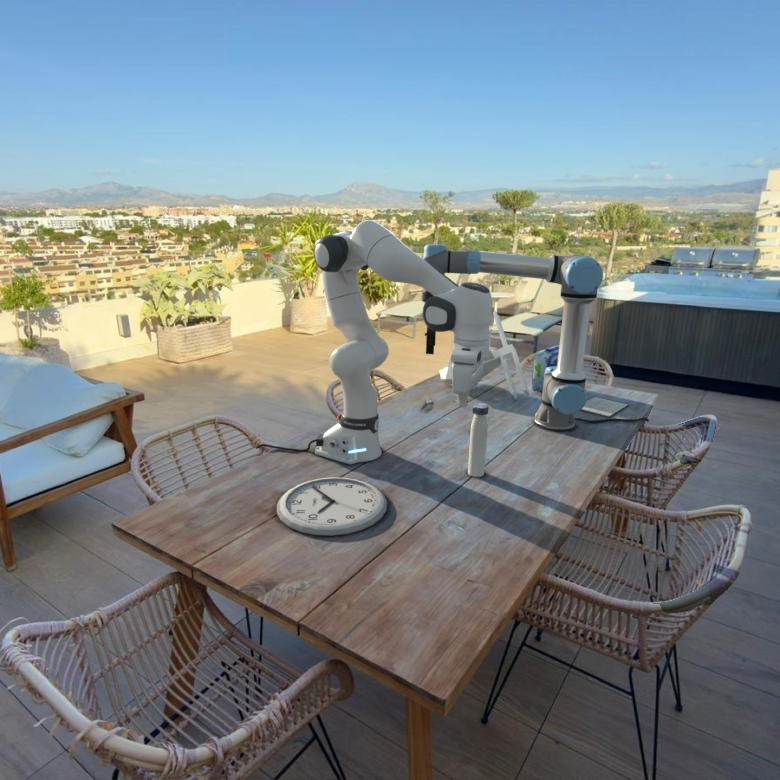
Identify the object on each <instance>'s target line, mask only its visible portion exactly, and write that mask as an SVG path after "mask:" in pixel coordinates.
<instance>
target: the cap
mask: <svg viewBox="0 0 780 780" xmlns="http://www.w3.org/2000/svg"><path fill="white" fill-rule="evenodd" d="M472 413H473V415H475V414H477V415H486V416H487V415H488V414H489V404H486V403H483V402H482V403H480V402H478V403H474V404H473V405H472Z"/></svg>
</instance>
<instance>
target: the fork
mask: <svg viewBox="0 0 780 780" xmlns="http://www.w3.org/2000/svg"><path fill="white" fill-rule="evenodd" d="M434 398H435V396H431V395H429V396H428V397H427V399H426V403H425V404H423V406H422V407H421V409H420V410H421V411H423V410H424V409H425V408H426V407H427V406H428V404H432V403H433V402H434Z"/></svg>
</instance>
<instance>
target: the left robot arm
mask: <svg viewBox="0 0 780 780" xmlns="http://www.w3.org/2000/svg"><path fill="white" fill-rule="evenodd" d="M313 259H314V261H315V263H316V265H317V267H318V268H319V269H320V270H321V271H322V272H321V273H322V284H323V285H322V286H323V291H324V296H325V300H326V303H327V306H328V310H329V314H330V317H331V321H332V324H333V326H334V327H335V328H336V329H338V330H339V331H340V332H341V333H342V335H343V337H344V339H346V342H345V343H342V344H341V345H340V346H338V347H337V348H336V349H334V351H332V353H331V354H330V356H329V367H330V369H331V371H332V372H333V374H334V376H336V377H337V378H338V379H339V382H340V385H341V389H342V396H343V399H342V402H343V410H342V411H341V412H340V413H339V414H338V415H337V416H336V421H338V422H337V423H336V424H334V425H333V426H331V427H330V428H329V429H327V430H326V431H325V432H324V433H318V435H317V436H316V438H315V439H313V440H310V442H309V443H308V445H307V448H303V449H298V448H291V447H290V448H289V447H283V446H278V445H271V444H266V443H261V444H259V445H257V446H256V447H255V449H260V448H262V447H267V448H271V449H278V450H283V451H290V452H307V451H309V450H310V449H311V445H312V444H313V443H315V444H316V447H315V448H314V454H315V455H317V456H320V457H324V458H326V459H329V460H334V461H337V462H340V463H343V464H347V465H354V464H357V463H363V462H364V463H365V462H371V461H374V460H376V459H378V458H380V457H381V456H382V454H383V453H382V452H383V451H382V448H381V445H380V438H379V427H380V419H379V417H380V416H379V412H378V391H377V388H376V387H375V386H374V385H373V383H372V380H371V371H373V370H375V369H377V368H379V367H381V366H382V365H383V364H384V362H385V361H386V360H387V359H388V356H389V353H390V349H389V348H390V347H389V345H388V343H387V342H386V340H385V339H384V338H382V337H381V336H380V335H379V333H378V332H377V330H376V329H375V326H374V325H373V324H372V322H371V319H370V317H369V315H368V311H367V308H366V305H365V301H364V298H363V293H362V290H361V286H360V284H359V280H358V273H359V271H360V270H362V271H367V270H368V269H369V268H370V270H371V271H372V272H374V274H375V275H377V276H378V277H380V278H381V279H383V280H385V281H387V282H391V283H401V284H408V285H414V286H417V287H421V288H422V289H423V288H424V289H426V290H427V291H429V292H430V293H431V294H432V295H433V296H432V297H430V298H428V299H427V301H426V302H424V304H423V307H422V319H423V322H424V324H425V325H426V328H427V327H428V328H429V329H431V330H432V331H436V333H444V332H445V333H446V332H452V333H453V344H452V348H453V350H452V349H451V352H452V353H450V357H449V361H451V362H453V365H452V384H451V388H452V392H453V393H454V394H456V395H458V399H459V400H458V401H459V404H458V405H459V407H460V408H462V409H463V408H467V407H468V403H469V399H468V397H472V398H474V397H475V396H476V394H477V393H476V392H477V386H478V383H479V382H478V380H479V379H480V377H481V376H482V375H483V368H484V359H485V358H487V357H488V354H489V345H490V341H491V339H490V338H491V336H490V326H491V323H492V315H493V309H492V308H493V301H492V300H493V299H492V294H491V291H490V289H489V288H488V287H487V286H485V285H484V284H481V283H477V282H469V281H468V282H462V283H460V284H457V283H456V282H455V281H453V280H452V279H451V278H449V277H448V276H447V275H446V274H445V275H444V274H443V273H442V272H440V271H439V270H438V269H437V268H435V267H434V266H433V265H431V264H430V263H428V262H427V261H425V260H424V259H423V257H421V255H419V254H417V253H416V252H414V251H413V250H412V249H410V248H409V247H408V245H406V244H405V243H403V242H402V241H401V239H399V238H398V237H397V236H396V235H395V234H394V233H393V232H391V231H390V230H389V229H387V228H386V227H385V226H383V225H382V224H380V223H378V222H377V221H374V220H372V219H367V220H362V221H361V222H359V223H358V224H357V225H356V226H355V227H354V229H352V230H344V231H341V232H338V233H333V234H326V235H324V236H322V237H319V238H318V239H317V240H316V241H315V243H314V246H313ZM424 289H423V290H424Z"/></svg>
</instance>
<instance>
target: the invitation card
mask: <svg viewBox="0 0 780 780" xmlns="http://www.w3.org/2000/svg"><path fill="white" fill-rule="evenodd" d="M628 406H629V404H627V403H623V402H618V401H614V400H609V399H605V398H601V397H596V396H593V397H592V398H590V399H587V401H586V404H585V406H584V407H583V408H582V409H581V410H580V411H584V412H587V413H593V414H596V415H600V416H604V417H608V418H609V417H611V416H613V415H614V414H616V413H617V412H619V411H621V410H623V409H624V408H626V407H628Z"/></svg>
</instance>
